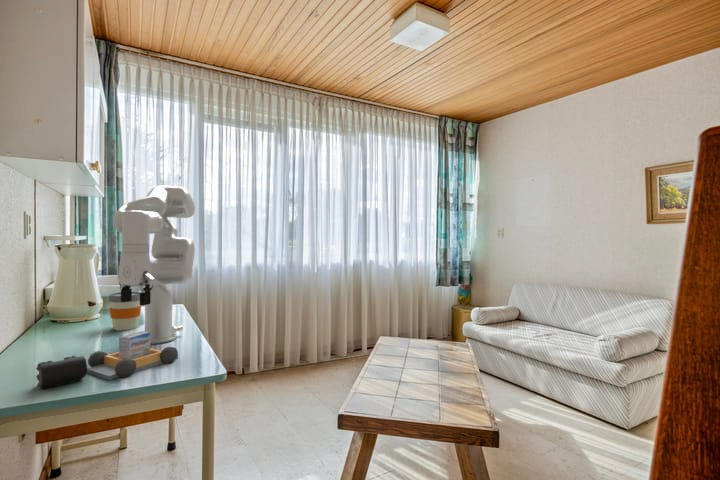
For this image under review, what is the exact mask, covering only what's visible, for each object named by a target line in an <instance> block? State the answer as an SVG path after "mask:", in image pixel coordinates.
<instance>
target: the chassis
mask: <svg viewBox="0 0 720 480" xmlns="http://www.w3.org/2000/svg"><path fill="white" fill-rule="evenodd" d="M178 351H179V350H178V349H177V348H176V347H174V346H166V347H164V348H163V349H162V350H160V349H155V348H152V344H150V355H147V356H143V357H140V358H136V359H133V360H131V359H121V358H119V351H117V352H113V353H110V354H109V353H107V352H104V351H100V350H98V351H94V352H92V353H91V355H89V357H88V358H87V365H88V366H89V367H87V373H86V374H89V375H92V376H94V377H98V378H101V379H105V380H107V379H108V380H107V381H112V380H115V379H118V378H129V377H131V376H132V375H133V374H134V373H136V372H139V371H142V370H147V369H149V368H152V367H153V368H154V367H156V366H158V365H161V364H164V363H167V364H172V363H174V362H175V361H176V360H177V359H178V358H179V352H178Z"/></svg>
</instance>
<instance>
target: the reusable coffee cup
mask: <svg viewBox="0 0 720 480" xmlns="http://www.w3.org/2000/svg"><path fill="white" fill-rule="evenodd" d="M140 293H141V291H132V300H131V301H128V302H121V291H120V292H113V293H110V294H109V297H108V302H109V314H110V315H109V316H110V318H111V322H112V328H113V330H114V329H115V330H116V331H126V330H133V329H136V328H137V327H138V322H139V317H140V316H141V311H142V310H141V309H142V305H140Z"/></svg>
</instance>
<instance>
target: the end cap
mask: <svg viewBox="0 0 720 480" xmlns="http://www.w3.org/2000/svg"><path fill="white" fill-rule="evenodd" d="M87 368H88V362H87V359H86V358H85V356H84V355H80V356H75V355H72V356H67V357H64V358H63V359H62V360H55V361H52V360H48V361H42V362H39V363H37V366H36V370H37V371H38V374H37V375H36V379H37V381H38V383H37V386H38V388H39V389H41V390H45V389H50V388H53V387H57V386H61V385H65V384H70V383H73V382H74V383H75V382H78V381H82V380H83V379H84V378H85V377H86V375H87V374H88V373H87Z"/></svg>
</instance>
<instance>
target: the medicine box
mask: <svg viewBox="0 0 720 480" xmlns="http://www.w3.org/2000/svg"><path fill="white" fill-rule="evenodd" d="M118 352H119V358H121V359H131V360H133V359H136V358H140V357H143V356H147V355H150V332H145V331H143V330H142V331H138V332H134V333H131V334H126V335H124V336H123V335H122V336H119V337H118Z"/></svg>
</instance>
